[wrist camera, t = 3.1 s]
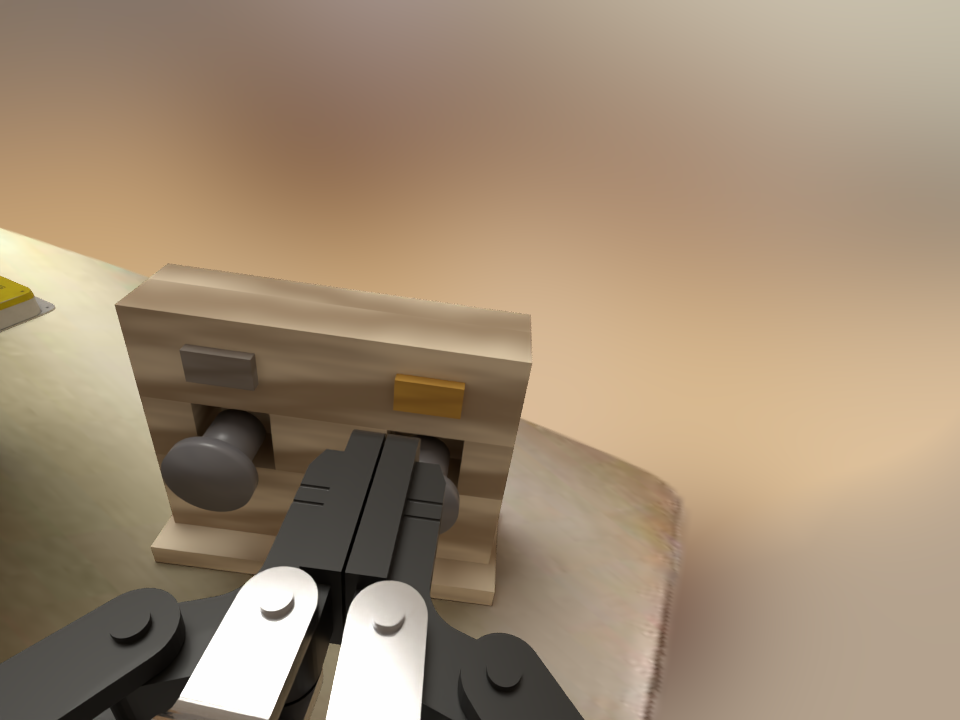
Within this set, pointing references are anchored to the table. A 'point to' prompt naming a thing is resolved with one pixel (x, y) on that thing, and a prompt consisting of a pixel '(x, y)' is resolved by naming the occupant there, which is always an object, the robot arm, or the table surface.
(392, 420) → the birch console
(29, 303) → the emergency button
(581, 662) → the table surface
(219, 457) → the grey button
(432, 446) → the grey rounded knob
